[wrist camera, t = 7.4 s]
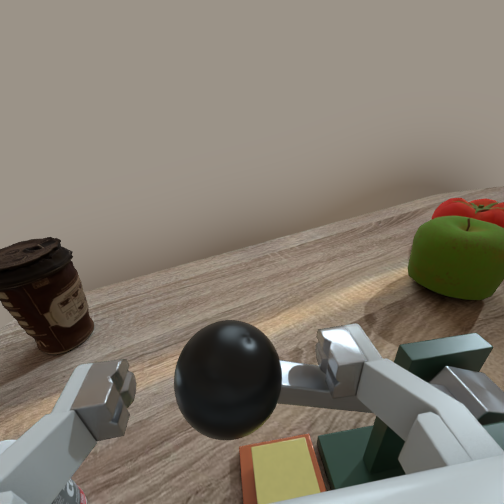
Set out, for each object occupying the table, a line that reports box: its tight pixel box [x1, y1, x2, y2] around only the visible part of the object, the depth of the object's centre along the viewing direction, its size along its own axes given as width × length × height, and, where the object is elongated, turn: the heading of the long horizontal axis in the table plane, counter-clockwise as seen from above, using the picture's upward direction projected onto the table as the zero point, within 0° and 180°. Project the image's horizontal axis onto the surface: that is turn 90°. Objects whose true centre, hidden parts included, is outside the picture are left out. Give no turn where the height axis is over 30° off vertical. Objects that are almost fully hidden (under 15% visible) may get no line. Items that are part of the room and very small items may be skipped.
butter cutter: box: [317, 333, 504, 490], centre depth 15 cm, size 10×9×14 cm
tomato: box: [432, 198, 504, 228], centre depth 46 cm, size 13×12×8 cm
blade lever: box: [174, 320, 504, 440], centre depth 10 cm, size 15×4×4 cm, turn 98°
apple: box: [408, 216, 504, 300], centre depth 36 cm, size 11×11×11 cm
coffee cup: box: [0, 237, 94, 354], centre depth 31 cm, size 9×8×13 cm
